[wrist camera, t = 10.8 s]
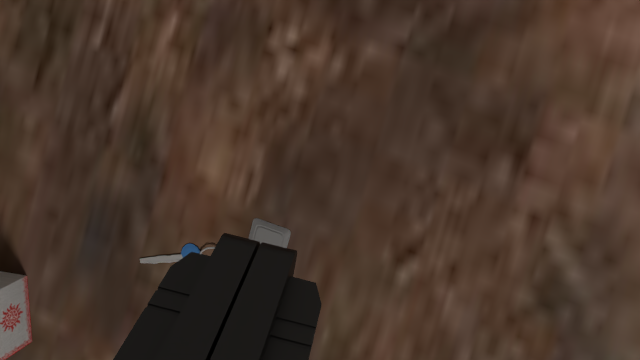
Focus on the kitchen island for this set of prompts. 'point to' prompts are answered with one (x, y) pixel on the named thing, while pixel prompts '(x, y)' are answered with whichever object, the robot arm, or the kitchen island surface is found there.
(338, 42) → the kitchen island surface
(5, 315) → the tea box
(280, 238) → the key chain
